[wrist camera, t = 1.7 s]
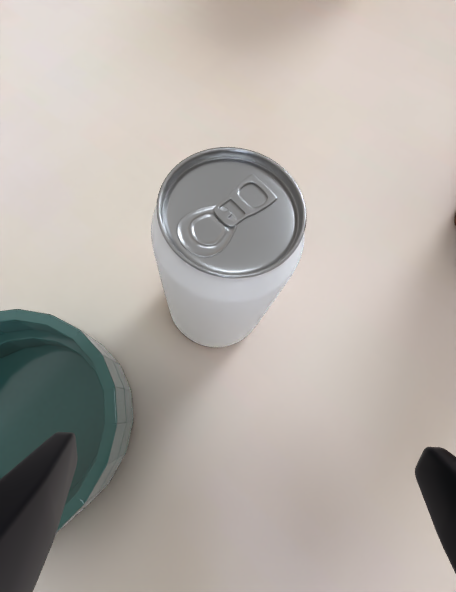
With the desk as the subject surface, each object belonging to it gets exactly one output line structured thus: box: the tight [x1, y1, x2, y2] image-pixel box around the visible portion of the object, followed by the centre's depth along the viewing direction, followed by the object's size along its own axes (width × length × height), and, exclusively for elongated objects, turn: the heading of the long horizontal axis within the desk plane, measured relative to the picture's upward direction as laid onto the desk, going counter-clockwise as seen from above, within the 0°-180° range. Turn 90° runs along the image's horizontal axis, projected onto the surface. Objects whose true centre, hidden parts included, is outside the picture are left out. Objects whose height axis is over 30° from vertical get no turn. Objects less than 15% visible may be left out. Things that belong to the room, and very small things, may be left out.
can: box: [151, 147, 306, 347], centre depth 18 cm, size 6×6×12 cm
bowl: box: [0, 309, 133, 533], centre depth 18 cm, size 11×11×5 cm
